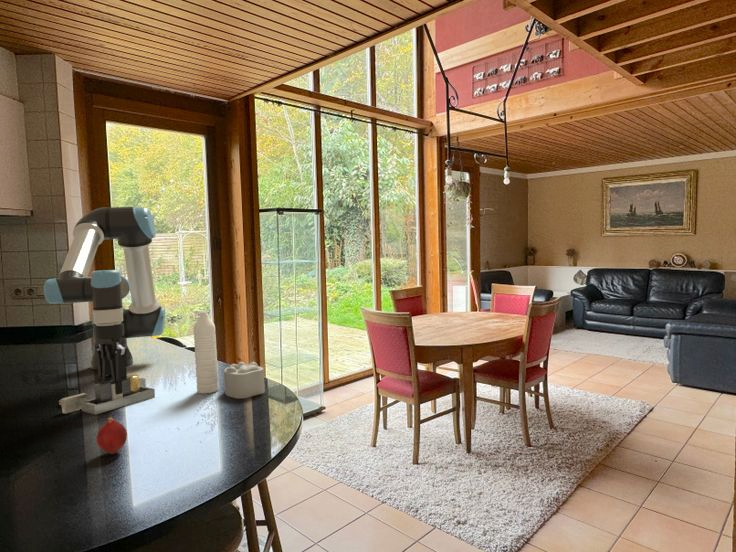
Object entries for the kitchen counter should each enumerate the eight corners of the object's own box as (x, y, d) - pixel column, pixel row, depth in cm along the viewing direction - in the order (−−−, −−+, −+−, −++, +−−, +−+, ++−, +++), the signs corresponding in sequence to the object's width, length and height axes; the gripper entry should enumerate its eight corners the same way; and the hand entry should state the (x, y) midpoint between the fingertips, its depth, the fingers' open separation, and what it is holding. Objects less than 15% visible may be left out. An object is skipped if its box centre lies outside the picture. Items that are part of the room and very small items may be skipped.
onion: (105, 449, 108) (103, 413, 107) (132, 447, 108) (129, 412, 108) (92, 460, 102) (90, 423, 101) (121, 458, 102) (118, 421, 102)
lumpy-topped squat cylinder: (238, 400, 140) (236, 370, 140) (217, 392, 150) (216, 364, 149) (269, 391, 148) (267, 363, 147) (247, 384, 157) (246, 358, 157)
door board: (128, 387, 160) (127, 375, 159) (162, 394, 149) (161, 381, 149) (48, 408, 140) (47, 394, 139) (81, 418, 129) (80, 404, 129)
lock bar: (103, 410, 135) (100, 386, 135) (95, 408, 138) (93, 384, 137) (143, 398, 145) (141, 375, 145) (135, 396, 148) (133, 374, 147)
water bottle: (221, 391, 150) (217, 311, 149) (200, 395, 147) (195, 313, 145) (213, 385, 157) (209, 309, 156) (192, 389, 154) (188, 311, 153)
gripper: (137, 323, 138) (142, 404, 139) (107, 320, 147) (112, 396, 148) (111, 327, 131) (116, 412, 133) (81, 324, 140) (86, 403, 141)
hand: (114, 403), depth 140 cm, fingers closed on lock bar, 3 cm apart
